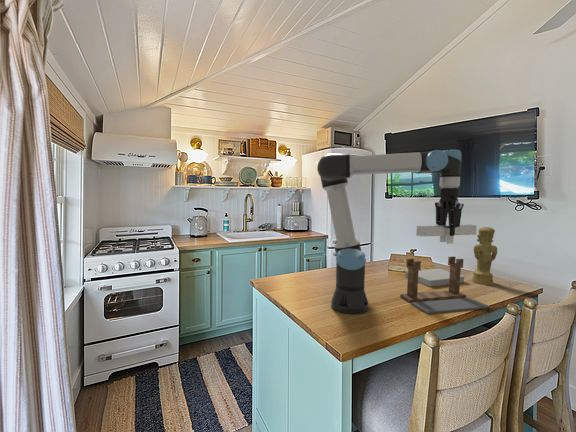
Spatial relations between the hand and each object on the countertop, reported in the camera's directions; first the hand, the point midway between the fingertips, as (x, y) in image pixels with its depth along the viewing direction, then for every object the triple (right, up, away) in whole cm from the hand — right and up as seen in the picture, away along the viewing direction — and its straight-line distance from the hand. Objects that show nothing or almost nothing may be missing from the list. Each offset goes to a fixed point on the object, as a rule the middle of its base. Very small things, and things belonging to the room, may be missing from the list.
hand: (446, 242), depth 124 cm
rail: (0, +3, 0) cm, 3 cm away
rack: (-2, -26, +8) cm, 27 cm away
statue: (+37, -24, +32) cm, 55 cm away
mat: (+1, -27, -2) cm, 27 cm away
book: (+13, -24, +36) cm, 45 cm away
